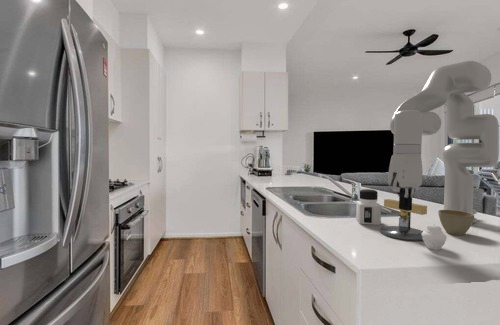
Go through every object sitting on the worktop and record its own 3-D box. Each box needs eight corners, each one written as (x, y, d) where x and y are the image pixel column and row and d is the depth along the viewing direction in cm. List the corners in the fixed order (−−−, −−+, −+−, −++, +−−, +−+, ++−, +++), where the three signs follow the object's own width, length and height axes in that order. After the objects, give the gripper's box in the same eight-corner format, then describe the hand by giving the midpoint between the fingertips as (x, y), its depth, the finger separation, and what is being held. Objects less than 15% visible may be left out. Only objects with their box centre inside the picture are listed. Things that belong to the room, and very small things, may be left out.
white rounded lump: (428, 251, 78) (429, 226, 77) (416, 244, 84) (417, 221, 83) (451, 252, 77) (452, 227, 77) (437, 244, 83) (438, 221, 83)
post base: (399, 227, 103) (399, 200, 103) (437, 237, 90) (438, 207, 90) (371, 231, 97) (372, 203, 97) (408, 243, 84) (409, 210, 84)
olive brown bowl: (430, 230, 98) (431, 210, 98) (450, 228, 102) (451, 208, 102) (460, 239, 89) (461, 217, 89) (480, 235, 93) (481, 214, 92)
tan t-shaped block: (388, 212, 100) (388, 198, 100) (426, 221, 88) (427, 206, 87) (383, 213, 99) (384, 199, 99) (421, 222, 87) (422, 206, 86)
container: (380, 225, 105) (381, 191, 105) (359, 224, 107) (360, 190, 106) (375, 220, 113) (376, 188, 113) (355, 219, 115) (356, 188, 114)
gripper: (412, 151, 92) (410, 206, 93) (379, 150, 86) (377, 209, 87) (434, 151, 85) (432, 210, 86) (401, 150, 79) (399, 214, 80)
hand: (405, 209), depth 86 cm, fingers closed
